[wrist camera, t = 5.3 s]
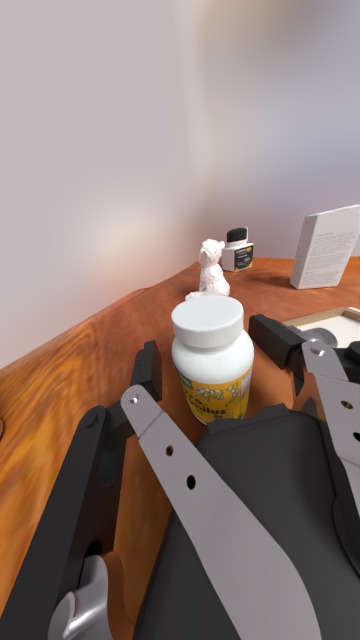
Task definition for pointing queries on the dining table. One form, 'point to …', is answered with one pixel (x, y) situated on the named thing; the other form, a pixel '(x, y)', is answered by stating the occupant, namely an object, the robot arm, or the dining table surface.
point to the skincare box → (325, 247)
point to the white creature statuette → (211, 271)
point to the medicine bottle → (237, 251)
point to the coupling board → (332, 324)
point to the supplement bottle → (213, 356)
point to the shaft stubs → (317, 335)
